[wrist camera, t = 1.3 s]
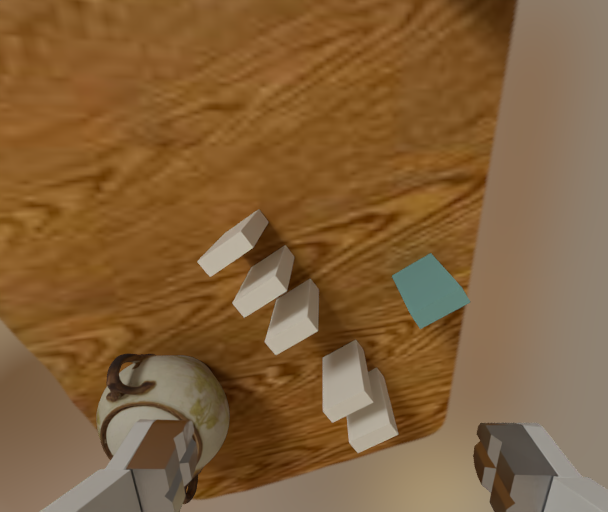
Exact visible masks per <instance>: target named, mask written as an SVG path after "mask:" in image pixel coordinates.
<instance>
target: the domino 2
mask: <svg viewBox="0 0 608 512" xmlns="http://www.w3.org/2000/svg"><path fill="white" fill-rule="evenodd" d="M294 258H295V257H294V256H293V254H292V253H291V251H290V250H289V249H288V247H287V246H286V245H284V246H283V247H281V248H280V249H278V250H277V251H275V252H274V253H272V254H271V255H269V256H268V257H266V258H265V259H263V260H262V261H260V262H259V263H257V264H256V265H254V266H253V267H251V269H250V271H249V273H248V275H247V276H246V278H245V280H244V282H243V284H242V286H241V288H240V290H239V292H238V294H237V295H236V297H235V299H234V301H233V303H232V304H233V305H234V306H235V307H236V308H237V310H238V311H239V312H240V313H241V314H242V316H243V317H244V318H245V317H246V316H248V315H249V314H251V313H253V312H254V311H256V310H257V309H259V308H261V307H262V306H264V305H265V304H267V303H269V302H270V301H272V300H273V299H275V298H277V297H278V296H280V295H281V294H283V293H285V292H286V291H287V289H288V285H289V280H290V276H291V271H292V267H293V262H294Z"/></svg>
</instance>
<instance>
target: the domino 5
mask: <svg viewBox="0 0 608 512" xmlns="http://www.w3.org/2000/svg"><path fill="white" fill-rule="evenodd" d="M368 375H369V381H370V386H371V391H372V396H373V403H371V404H369V405H367V406H365V407H363V408H361V409H359V410H357V411H355V412H353V413H351V414H349V415H347V425H348V437H349V443H350V444H351V445H352V447H353V448H354V449H355V450H356V451H357V453H359V452H361V451H364V450H366V449H368V448H370V447H372V446H374V445H377V444H379V443H381V442H383V441H385V440H388V439H390V438H392V437H394V436H396V435H398V430H397V426H396V422H395V418H394V415H393V411H392V407H391V403H390V399H389V395H388V391H387V387H386V383H385V379H384V376H383V375H382V374H381V372H380V371H379V370H378V368H375V369H373V370H371V371H369V372H368Z"/></svg>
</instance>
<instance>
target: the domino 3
mask: <svg viewBox="0 0 608 512" xmlns="http://www.w3.org/2000/svg"><path fill="white" fill-rule="evenodd" d="M318 316H319V289H318V288H317V286H316V285H315V284H314V282H313V281H312V280H311V278H310V279H308V280H307V281H305V282H304V283H302V284H300V285H299V286H297V287H296V288H294V289H292V290H291V291H289V292H288V293H286V294H284V295H283V296H281V297H280V298H278V299H276V303H275V307H274V310H273V314H272V317H271V321H270V325H269V328H268V332H267V336H266V339H265V343H266V344H267V345H268V347H269V348H270V349H271V350H272V351H273V353H274V354H275V355H277V354H279V353H281V352H282V351H284V350H286V349H288V348H289V347H291V346H293V345H295V344H296V343H298V342H300V341H302V340H303V339H305V338H307V337H308V336H310V335H312V334H314V333H315V332H317V331H318Z"/></svg>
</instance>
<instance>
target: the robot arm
mask: <svg viewBox="0 0 608 512" xmlns="http://www.w3.org/2000/svg"><path fill="white" fill-rule="evenodd" d="M193 433H194V427H193V422H192V421H186V420H159V419H157V420H148V419H140V420H138V421H137V422H136V423H135V424H134V425H133V427H132V429H131V430H130V432H129V433H128V435H127V436H126V438H125V439H124V441H123V442H122V444H121V445H120V447H119V448H118V450H117V452H116V453H115V455H114V456H113V458H112V459H111V461H110V462H109V464H108V465H107V467H106V469H100V470H98V471H97V472H95V473H94V474H92V475H91V476H89V477H88V478H87V479H85V480H84V481H82V482H81V483H80V484H78V485H77V486H75V487H74V488H72V489H71V490H70V491H68V492H67V493H65V494H64V495H63V496H61V497H60V498H58V499H57V500H56V501H54V502H53V503H51V504H50V505H48V506H47V507H46V508H44V509H43V510H41V511H40V512H180V509H181V507H182V504H183V502H184V499H185V496H186V495H185V489H184V486H185V485H187V484H188V483H189V482H190V481H191V480H192V477H193V475H194V472H195V468H196V463H197V444H196V442H195V441H194V440H193V439H192V435H193ZM477 435H478V437H479V439H480V442H479V443H478V444H476V445H475V447H474V455H473V457H474V465H475V469H476V473H477V475H478V478H479V480H480V482H481V484H482V486H484V487H485V488H486V489H487V490H488V491H489V492H491V497H490V504H491V506H492V508H493V510H494V512H608V490H607V489H606V488H604V487H603V486H601V485H600V484H598V483H597V482H595V481H593V480H592V479H590V478H589V477H582V476H581V475H580V474H579V472H578V471H577V470H576V468H575V467H574V466H573V465H572V463H571V462H570V461H569V459H568V458H567V457H566V456H565V454H564V453H563V452H562V451H561V449H560V448H559V447H558V446H557V444H556V443H555V442H554V441H553V439H552V438H551V437H550V435H549V434H548V433H547V432H546V430H545V429H544V428H543V427H542V426H541V425H540V424H538V423H480V425H479V426H478V430H477Z"/></svg>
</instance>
